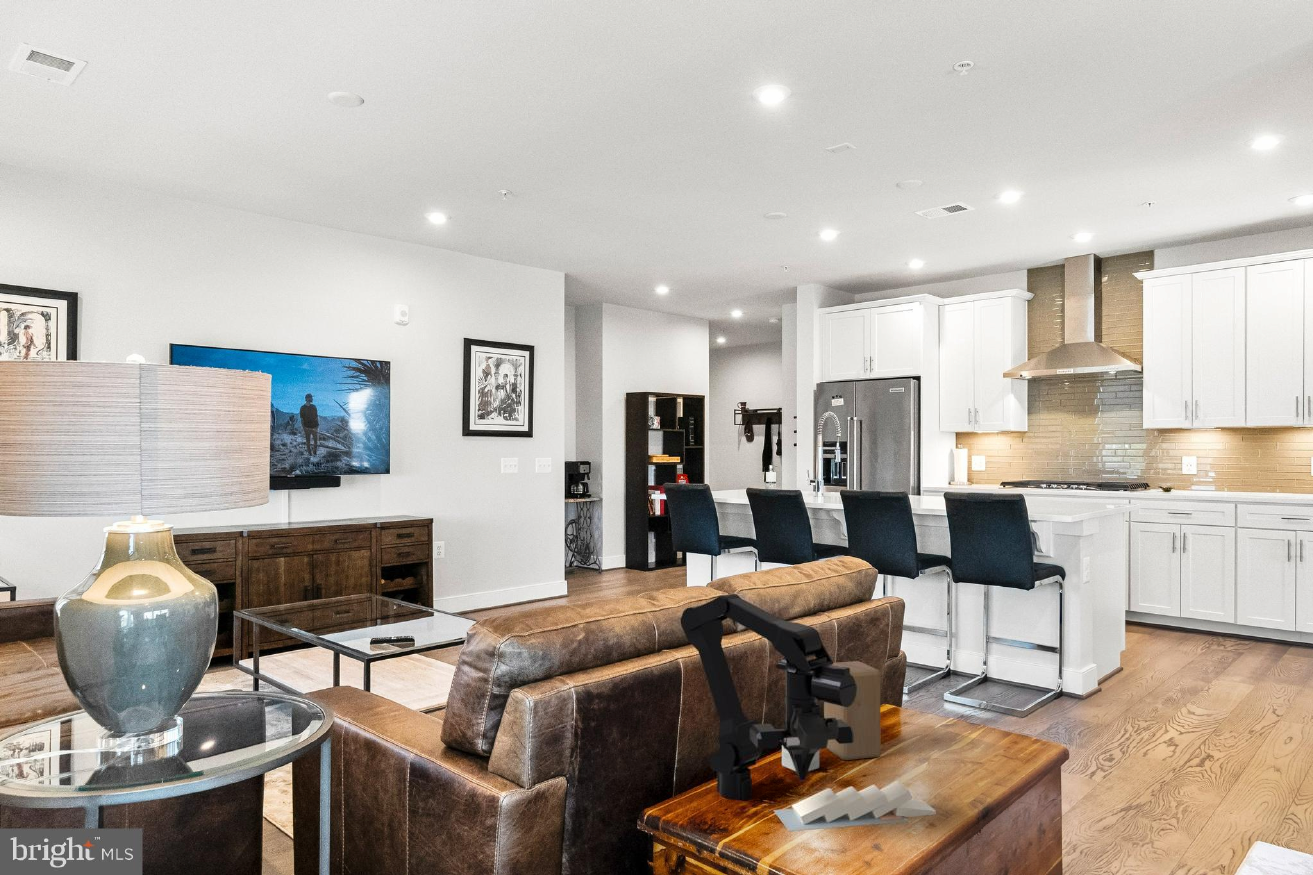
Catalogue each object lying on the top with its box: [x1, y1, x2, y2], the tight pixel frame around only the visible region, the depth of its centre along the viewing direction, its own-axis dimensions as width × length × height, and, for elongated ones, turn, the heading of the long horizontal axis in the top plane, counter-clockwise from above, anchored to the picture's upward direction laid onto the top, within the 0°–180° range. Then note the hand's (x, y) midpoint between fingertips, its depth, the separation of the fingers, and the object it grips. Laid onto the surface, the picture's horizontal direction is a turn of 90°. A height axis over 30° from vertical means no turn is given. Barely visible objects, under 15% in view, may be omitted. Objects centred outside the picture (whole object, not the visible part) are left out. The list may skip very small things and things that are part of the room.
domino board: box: [773, 808, 908, 832], centre depth 154 cm, size 23×9×1 cm, turn 100°
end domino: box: [891, 798, 937, 818], centre depth 157 cm, size 2×5×8 cm
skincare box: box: [781, 745, 820, 772], centre depth 182 cm, size 6×6×7 cm
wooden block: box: [823, 660, 882, 761], centre depth 191 cm, size 10×10×20 cm
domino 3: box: [845, 783, 888, 821], centre depth 155 cm, size 2×5×8 cm
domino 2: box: [822, 785, 865, 823], centre depth 154 cm, size 2×5×8 cm
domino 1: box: [791, 787, 842, 824], centre depth 153 cm, size 2×5×8 cm
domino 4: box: [870, 780, 913, 819], centre depth 156 cm, size 2×5×8 cm
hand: (801, 779), depth 153 cm, fingers closed
